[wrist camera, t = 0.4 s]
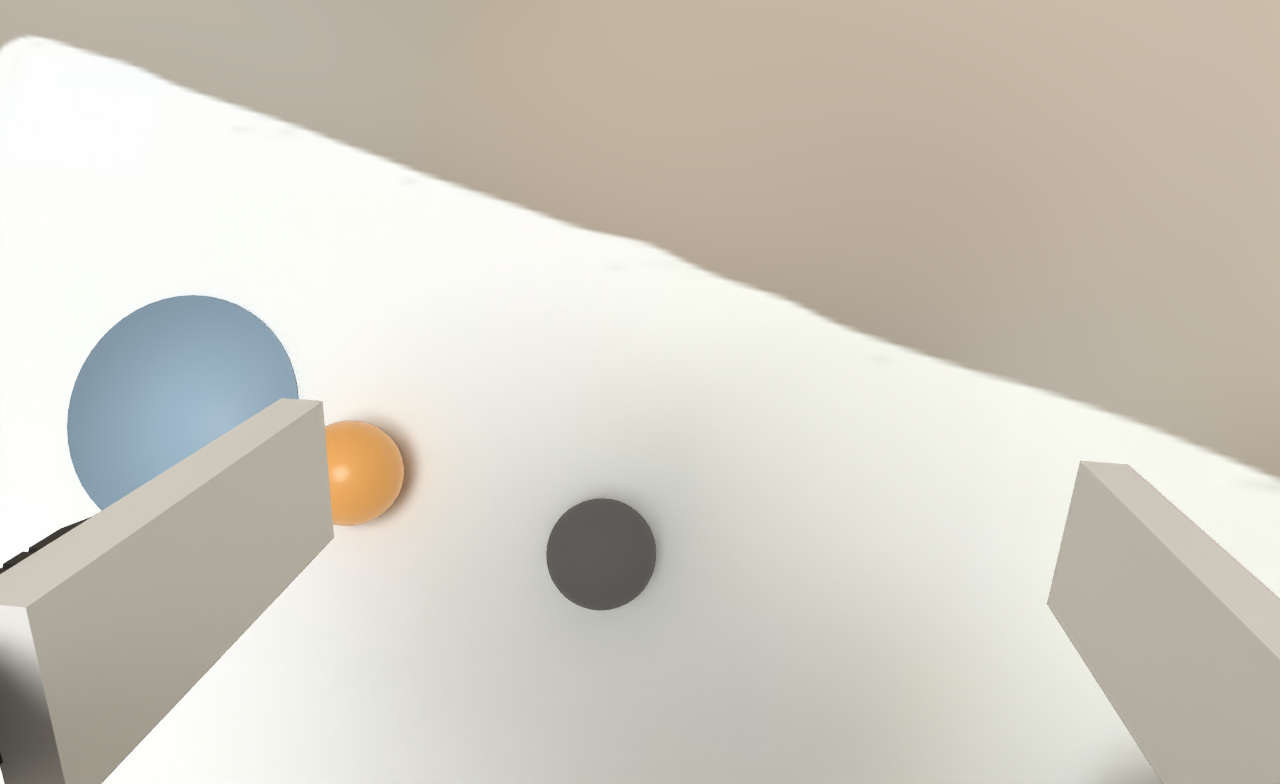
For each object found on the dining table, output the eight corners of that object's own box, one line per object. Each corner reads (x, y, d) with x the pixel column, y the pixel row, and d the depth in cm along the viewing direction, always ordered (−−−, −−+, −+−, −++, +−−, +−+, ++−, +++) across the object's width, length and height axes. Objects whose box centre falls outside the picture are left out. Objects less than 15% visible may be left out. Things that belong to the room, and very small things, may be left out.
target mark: (332, 332, 48) (330, 331, 48) (249, 569, 46) (247, 569, 46) (120, 269, 50) (118, 268, 49) (35, 495, 48) (32, 495, 48)
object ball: (435, 495, 46) (397, 493, 40) (349, 542, 46) (298, 547, 41) (394, 408, 47) (351, 395, 41) (309, 454, 47) (255, 448, 41)
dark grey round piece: (678, 572, 44) (672, 582, 39) (587, 621, 44) (568, 638, 39) (630, 481, 45) (617, 477, 39) (540, 529, 45) (516, 532, 40)
